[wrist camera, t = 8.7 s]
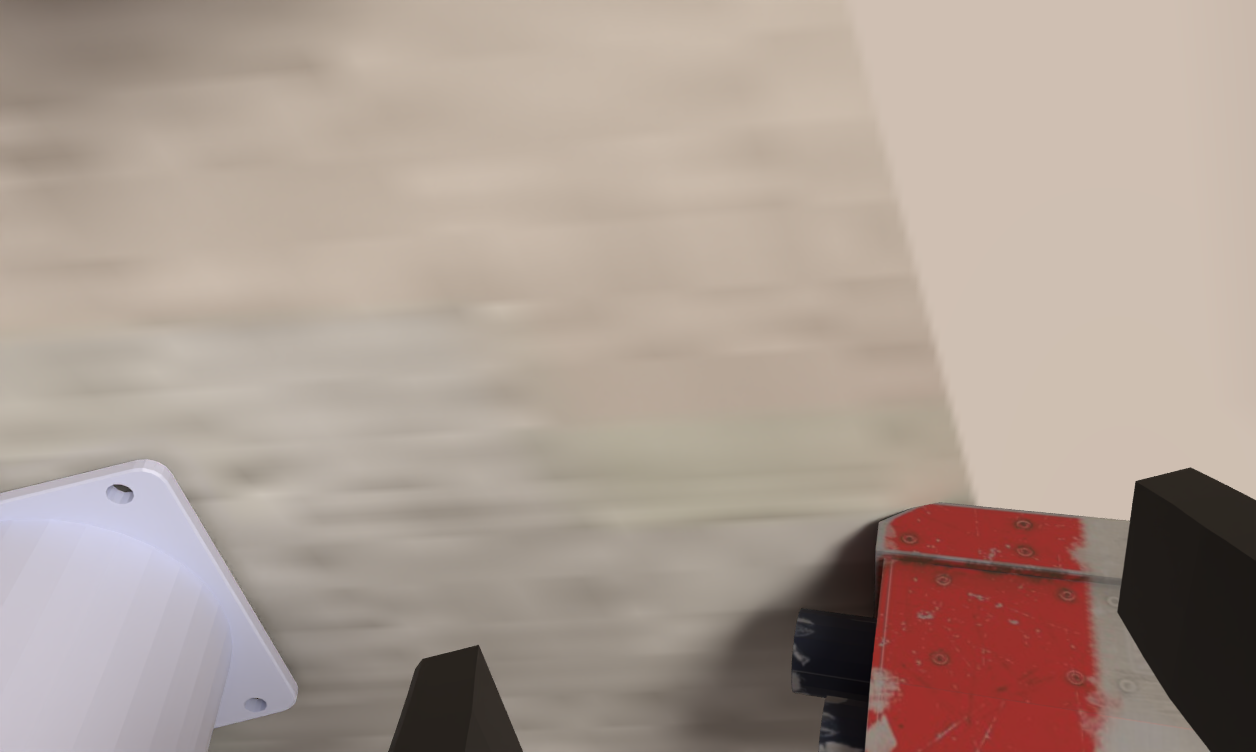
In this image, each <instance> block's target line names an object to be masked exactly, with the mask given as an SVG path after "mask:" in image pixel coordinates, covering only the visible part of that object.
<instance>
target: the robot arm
mask: <svg viewBox="0 0 1256 752" xmlns="http://www.w3.org/2000/svg"><path fill="white" fill-rule="evenodd" d="M114 484H122V485H124V486H127V487H129V488H130V489H131V490H132V492H123V491H120V490H118V489H116V488H115V487H114V486H113V485H114ZM1117 613H1118V614H1119V616H1120V618H1121V620H1122V621H1123V623H1124V625H1125V626H1126V628H1127V630H1128V632H1129V633H1130V635H1131V637H1132V638H1133V640H1134V642H1135V643H1136V645H1137V647H1138V649H1139V650H1140V652H1141V654H1142V655H1143V657H1144V659H1145V660H1146V662H1147V664H1148V665H1149V667H1150V668H1151V670H1152V672H1153V673H1154V675H1155V676H1156V678H1157V680H1158V681H1159V683H1160V684H1161V686H1162V688H1163V689H1164V691H1165V692H1166V694H1167V696H1168V697H1169V699H1170V700H1171V701H1172V702H1173V704H1174V705H1175V706H1176V708H1177V709H1178V710H1179V712H1180V713H1181V714H1182V716H1183V717H1184V718H1185V720H1186V721H1187V722H1188V724H1189V725H1190V726H1191V727H1192V729H1193V730H1194V731H1195V733H1196V734H1197V735H1198V736H1199V738H1200V739H1201V740H1202V742H1203V743H1204V744H1205V745H1206V747H1207V748H1208V749H1209V751H1210V752H1256V500H1254V499H1252V498H1250V497H1248V496H1247V495H1244V494H1243V493H1241V492H1239V491H1237V490H1235V489H1233V488H1231V487H1229V486H1227V485H1225V484H1223V483H1221V482H1219V481H1217V480H1215V479H1213V478H1211V477H1209V476H1207V475H1205V474H1203V473H1201V472H1199V471H1197V470H1195V469H1192V468H1187V469H1183V470H1179V471H1175V472H1171V473H1167V474H1163V475H1159V476H1154V477H1150V478H1147V479H1142V480H1138V481H1136V483H1135V489H1134V497H1133V503H1132V511H1131V518H1130V525H1129V532H1128V539H1127V546H1126V553H1125V560H1124V567H1123V574H1122V581H1121V588H1120V596H1119V603H1118V610H1117ZM297 694H298V686H297V683H296V681H295V680H294V678H293V676H292V675H291V673H290V671H289V670H288V668H287V666H286V665H285V663H284V661H283V660H282V658H281V656H280V654H279V653H278V651H277V649H276V648H275V646H274V644H273V643H272V641H271V639H270V638H269V636H268V634H267V633H266V631H265V629H264V628H263V626H262V624H261V622H260V621H259V619H258V617H257V616H256V614H255V612H254V611H253V609H252V607H251V606H250V604H249V602H248V601H247V599H246V597H245V596H244V594H243V592H242V590H241V589H240V587H239V585H238V584H237V582H236V580H235V579H234V577H233V575H232V574H231V572H230V570H229V569H228V567H227V565H226V564H225V562H224V560H223V558H222V557H221V555H220V553H219V552H218V550H217V548H216V547H215V545H214V543H213V542H212V540H211V538H210V537H209V535H208V533H207V532H206V530H205V528H204V526H203V525H202V523H201V521H200V520H199V518H198V516H197V515H196V513H195V511H194V510H193V508H192V506H191V505H190V503H189V501H188V500H187V498H186V496H185V494H184V493H183V491H182V489H181V488H180V486H179V484H178V483H177V481H176V479H175V478H174V476H173V474H172V473H171V471H170V470H169V469H168V468H167V467H166V466H165V465H163V464H161V463H159V462H157V461H153V460H149V459H143V460H135V461H131V462H127V463H122V464H118V465H114V466H110V467H106V468H102V469H98V470H94V471H90V472H85V473H81V474H77V475H73V476H69V477H65V478H61V479H57V480H52V481H48V482H44V483H40V484H36V485H32V486H28V487H24V488H20V489H15V490H11V491H7V492H3V493H0V752H207V751H208V748H209V744H210V740H211V736H212V732H213V729H214V728H218V727H222V726H226V725H230V724H234V723H238V722H242V721H246V720H250V719H254V718H258V717H262V716H266V715H270V714H274V713H278V712H282V711H285V710H287V709H290V708H291V707H292V706H293V705H294V704H295V702H296V699H297ZM254 698H260V699H254ZM388 752H523V751H522V748H521V746H520V743H519V741H518V739H517V736H516V734H515V731H514V729H513V726H512V724H511V722H510V719H509V717H508V714H507V712H506V710H505V707H504V705H503V702H502V700H501V697H500V695H499V693H498V690H497V688H496V685H495V683H494V681H493V678H492V676H491V673H490V671H489V669H488V666H487V664H486V661H485V659H484V656H483V654H482V652H481V649H480V647H479V645H477V646H473V647H469V648H465V649H461V650H457V651H453V652H449V653H445V654H441V655H437V656H433V657H429V658H425V659H422V661H421V662H420V663H419V665H418V666H417V667H416V669H415V672H414V675H413V678H412V682H411V685H410V688H409V691H408V695H407V698H406V701H405V704H404V707H403V710H402V713H401V716H400V719H399V722H398V725H397V728H396V731H395V734H394V737H393V740H392V743H391V745H390V748H389V751H388Z"/></svg>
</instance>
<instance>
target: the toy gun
mask: <svg viewBox="0 0 1256 752" xmlns="http://www.w3.org/2000/svg"><path fill="white" fill-rule="evenodd" d="M1129 525H1130V521H1126V520H1115V519H1105V518H1094V517H1084V516H1073V515H1064V514H1053V513H1043V512H1032V511H1021V510H1012V509H1002V508H991V507H981V506H971V505H960V504H950V503H935V504H929V505H924V506H919V507H914V508H911V509H909V510H906V511H904V512H901V513H899V514H897V515H894V516H892V517H890V518H887V519H885V520H883V521H880V522H879V526H878V535H877V543H876V554H875V594H874V618H869V617H861V616H854V615H847V614H839V613H832V612H824V611H817V610H810V609H802V608H801V610H800V612H799V615H798V619H797V624H796V630H795V636H794V645H793V654H792V691H793V692H794V693H799V694H805V695H811V696H817V697H823V698H826V700H825V704H824V709H823V715H822V722H821V730H820V740H819V751H818V752H1210V751H1209V749H1208V748H1207V747H1206V745H1205V744H1204V743H1203V742H1202V740H1201V739H1200V738H1199V736H1198V735H1197V734H1196V733H1195V731H1194V730H1193V729H1192V727H1191V726H1190V725H1189V724H1188V722H1187V721H1186V720H1185V718H1184V717H1183V716H1182V714H1181V713H1180V712H1179V710H1178V709H1177V708H1176V706H1175V705H1174V704H1173V702H1172V701H1171V700H1170V699H1169V697H1168V696H1167V694H1166V692H1165V691H1164V689H1163V688H1162V686H1161V684H1160V683H1159V681H1158V680H1157V678H1156V676H1155V675H1154V673H1153V672H1152V670H1151V668H1150V667H1149V665H1148V664H1147V662H1146V660H1145V659H1144V657H1143V655H1142V654H1141V652H1140V650H1139V649H1138V647H1137V645H1136V643H1135V642H1134V640H1133V638H1132V637H1131V635H1130V633H1129V632H1128V630H1127V628H1126V626H1125V625H1124V623H1123V621H1122V620H1121V618H1120V616H1119V614H1118V613H1117V610H1118V603H1119V596H1120V588H1121V581H1122V574H1123V567H1124V560H1125V553H1126V546H1127V539H1128V532H1129Z"/></svg>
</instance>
